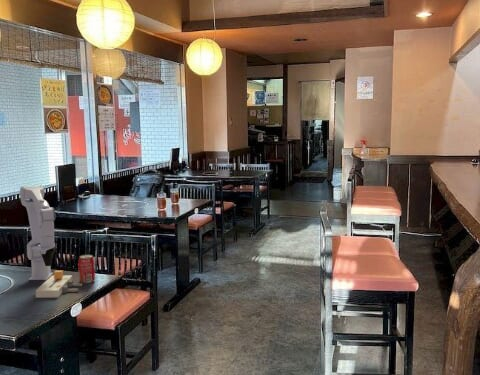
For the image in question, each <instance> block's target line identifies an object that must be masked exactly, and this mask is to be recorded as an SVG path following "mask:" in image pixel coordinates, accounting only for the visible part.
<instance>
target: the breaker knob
mask: <svg viewBox="0 0 480 375" xmlns="http://www.w3.org/2000/svg"><path fill="white" fill-rule="evenodd" d="M53 275H54V279H62V278H63V275H64V270H54V271H53Z"/></svg>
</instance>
